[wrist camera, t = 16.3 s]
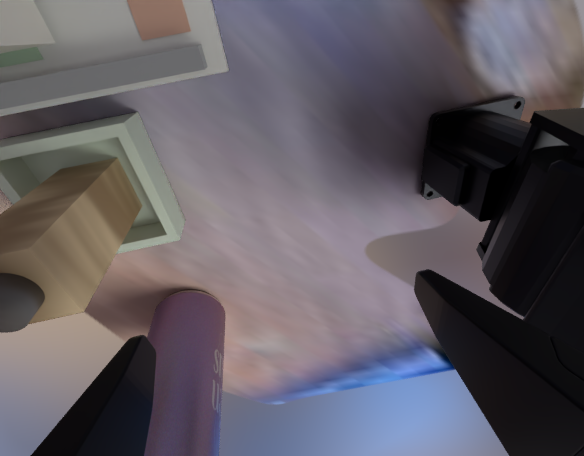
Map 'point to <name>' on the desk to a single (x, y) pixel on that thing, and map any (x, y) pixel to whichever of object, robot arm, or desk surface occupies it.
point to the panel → (111, 51)
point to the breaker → (22, 26)
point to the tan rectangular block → (62, 242)
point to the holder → (92, 148)
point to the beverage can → (187, 375)
